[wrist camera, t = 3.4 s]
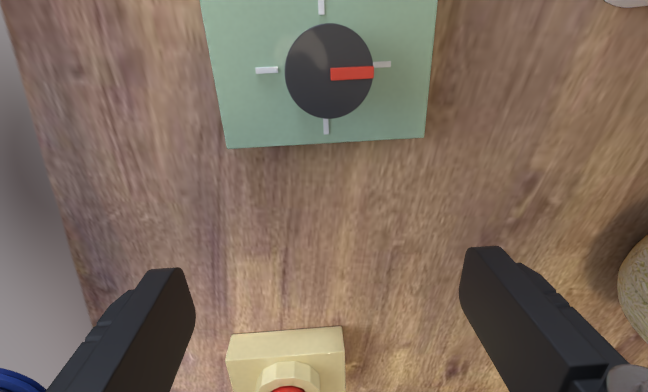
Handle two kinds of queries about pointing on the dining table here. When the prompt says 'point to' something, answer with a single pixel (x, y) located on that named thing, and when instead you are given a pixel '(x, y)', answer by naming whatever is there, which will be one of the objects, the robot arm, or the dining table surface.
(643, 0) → the container
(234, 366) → the button base
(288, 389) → the push button
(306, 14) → the dial panel
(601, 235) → the dining table surface
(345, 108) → the dial
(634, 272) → the cantaloupe
